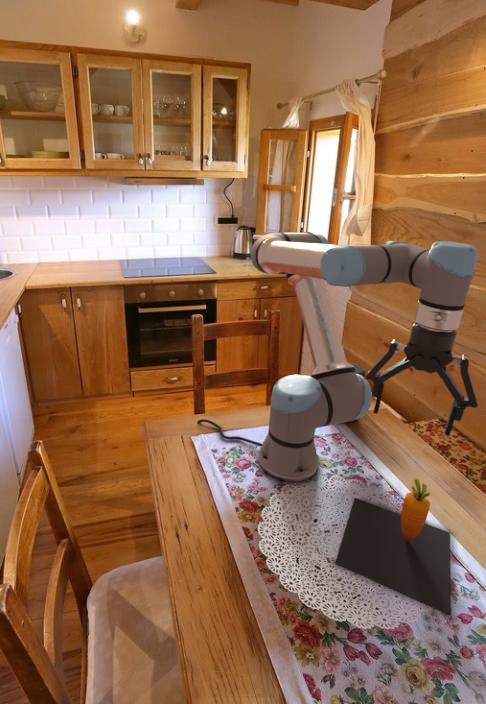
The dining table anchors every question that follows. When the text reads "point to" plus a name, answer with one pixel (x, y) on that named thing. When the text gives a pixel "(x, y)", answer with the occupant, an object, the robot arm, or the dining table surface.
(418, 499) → the carrot
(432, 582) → the mat
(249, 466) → the dining table surface
